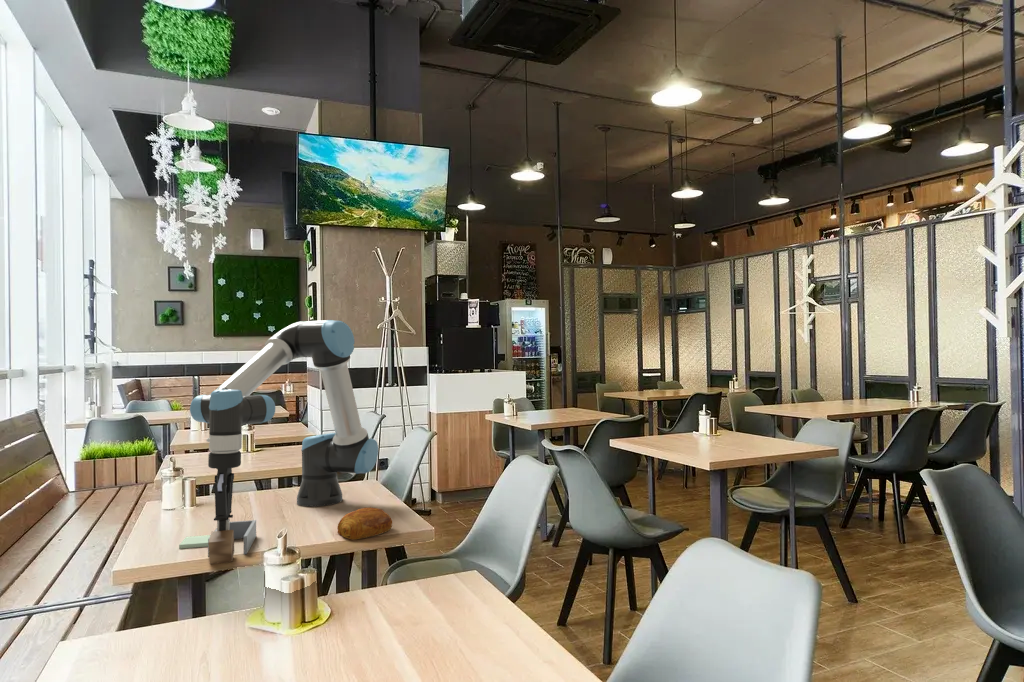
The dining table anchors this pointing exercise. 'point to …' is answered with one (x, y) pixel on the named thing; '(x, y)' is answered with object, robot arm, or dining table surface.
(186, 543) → the coaster
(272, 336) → the robot arm
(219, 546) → the block
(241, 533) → the u-shaped bracket
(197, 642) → the dining table surface
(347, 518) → the brown oval lump
